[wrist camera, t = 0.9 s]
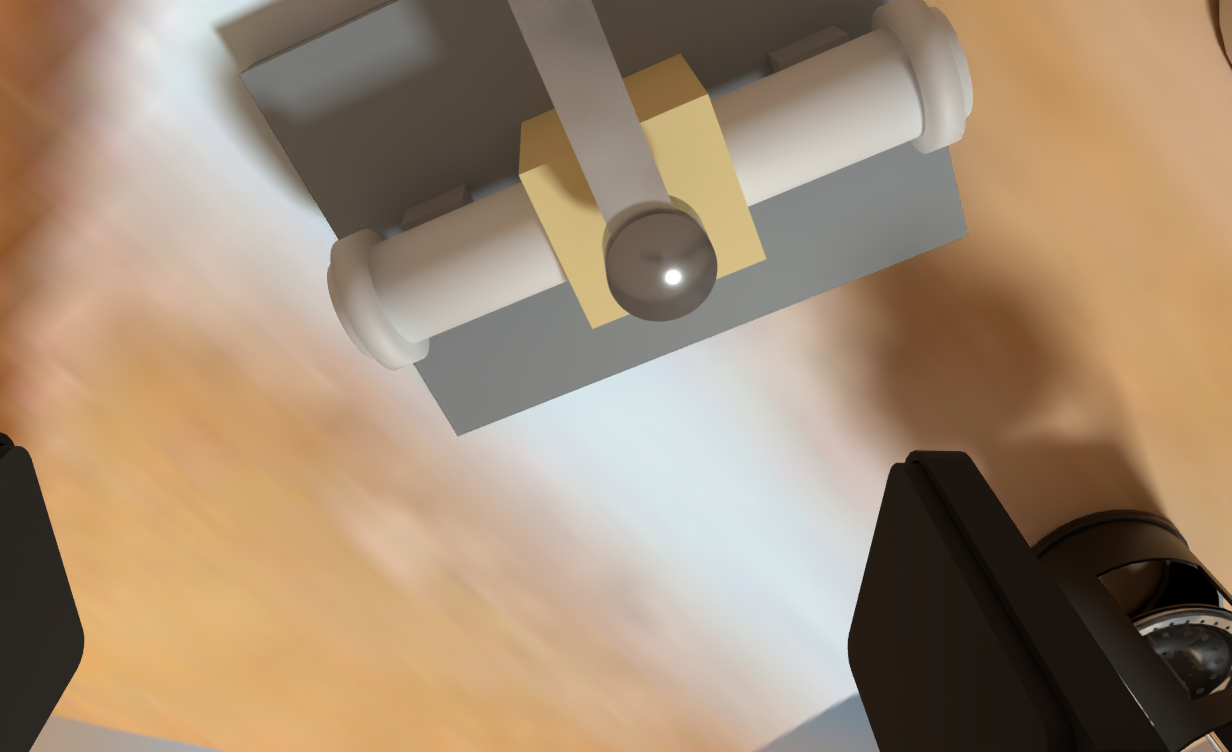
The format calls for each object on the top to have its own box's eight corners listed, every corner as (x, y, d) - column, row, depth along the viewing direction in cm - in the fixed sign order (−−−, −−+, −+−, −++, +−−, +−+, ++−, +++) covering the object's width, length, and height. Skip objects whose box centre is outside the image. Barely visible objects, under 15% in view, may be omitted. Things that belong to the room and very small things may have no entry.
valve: (851, -214, 30) (967, -235, 22) (953, 221, 38) (1066, 325, 30) (250, 65, 33) (157, 138, 25) (460, 417, 40) (441, 560, 32)
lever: (719, 268, 27) (732, 297, 26) (625, 306, 28) (631, 337, 26) (523, -243, 21) (522, -251, 19) (404, -185, 21) (391, -187, 20)
